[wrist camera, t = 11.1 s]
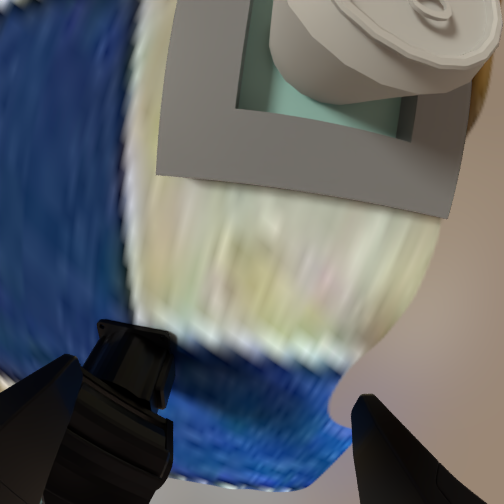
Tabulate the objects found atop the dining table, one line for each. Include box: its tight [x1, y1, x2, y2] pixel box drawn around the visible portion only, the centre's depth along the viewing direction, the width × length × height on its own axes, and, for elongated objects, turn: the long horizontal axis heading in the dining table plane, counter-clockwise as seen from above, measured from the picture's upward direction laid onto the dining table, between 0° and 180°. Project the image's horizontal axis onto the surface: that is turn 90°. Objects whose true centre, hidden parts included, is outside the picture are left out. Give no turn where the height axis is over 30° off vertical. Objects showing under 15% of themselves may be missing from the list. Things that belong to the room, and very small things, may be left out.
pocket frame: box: [156, 0, 472, 219], centre depth 14 cm, size 18×18×2 cm
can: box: [269, 0, 503, 105], centre depth 9 cm, size 8×8×12 cm
